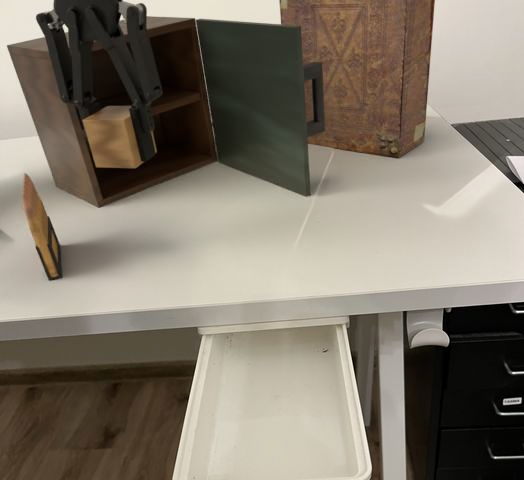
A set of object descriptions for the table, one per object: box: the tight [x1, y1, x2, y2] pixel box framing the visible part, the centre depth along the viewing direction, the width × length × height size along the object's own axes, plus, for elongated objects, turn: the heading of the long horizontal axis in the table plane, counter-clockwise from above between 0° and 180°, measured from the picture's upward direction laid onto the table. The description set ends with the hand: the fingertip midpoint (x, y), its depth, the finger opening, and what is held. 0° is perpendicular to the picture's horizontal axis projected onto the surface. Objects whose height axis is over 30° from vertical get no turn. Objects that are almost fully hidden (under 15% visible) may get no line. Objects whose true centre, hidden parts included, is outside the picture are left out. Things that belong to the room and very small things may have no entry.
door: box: [195, 18, 325, 197], centre depth 92 cm, size 7×26×24 cm, turn 37°
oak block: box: [83, 106, 157, 168], centre depth 72 cm, size 6×6×6 cm
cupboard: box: [6, 15, 218, 209], centre depth 100 cm, size 18×26×24 cm
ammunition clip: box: [21, 173, 63, 281], centre depth 77 cm, size 11×2×12 cm, turn 18°
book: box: [278, 0, 436, 159], centre depth 99 cm, size 25×9×30 cm, turn 49°
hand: (126, 157), depth 73 cm, fingers closed on oak block, 6 cm apart
